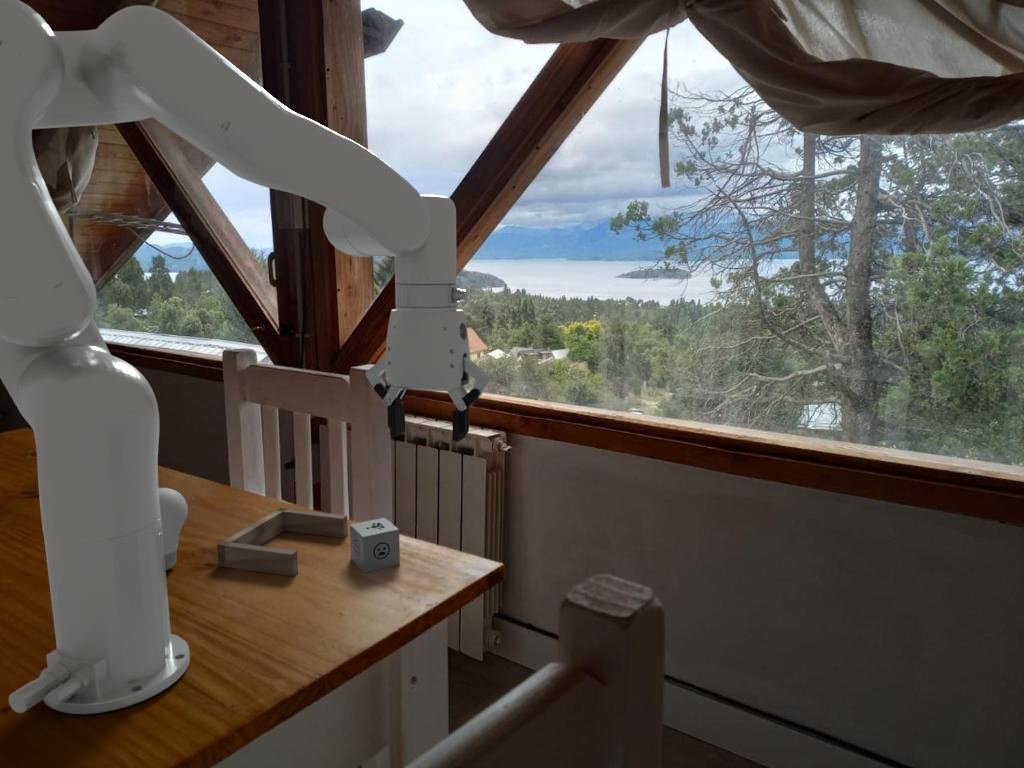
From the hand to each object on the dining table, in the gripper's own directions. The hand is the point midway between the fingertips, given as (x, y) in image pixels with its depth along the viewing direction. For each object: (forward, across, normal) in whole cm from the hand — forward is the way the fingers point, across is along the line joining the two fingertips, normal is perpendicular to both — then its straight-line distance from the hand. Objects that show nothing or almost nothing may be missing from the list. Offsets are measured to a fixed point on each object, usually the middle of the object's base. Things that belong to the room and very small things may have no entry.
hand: (428, 436), depth 89 cm
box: (+18, +21, 0) cm, 28 cm away
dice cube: (+18, +8, 0) cm, 20 cm away
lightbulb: (+18, +33, +10) cm, 39 cm away
